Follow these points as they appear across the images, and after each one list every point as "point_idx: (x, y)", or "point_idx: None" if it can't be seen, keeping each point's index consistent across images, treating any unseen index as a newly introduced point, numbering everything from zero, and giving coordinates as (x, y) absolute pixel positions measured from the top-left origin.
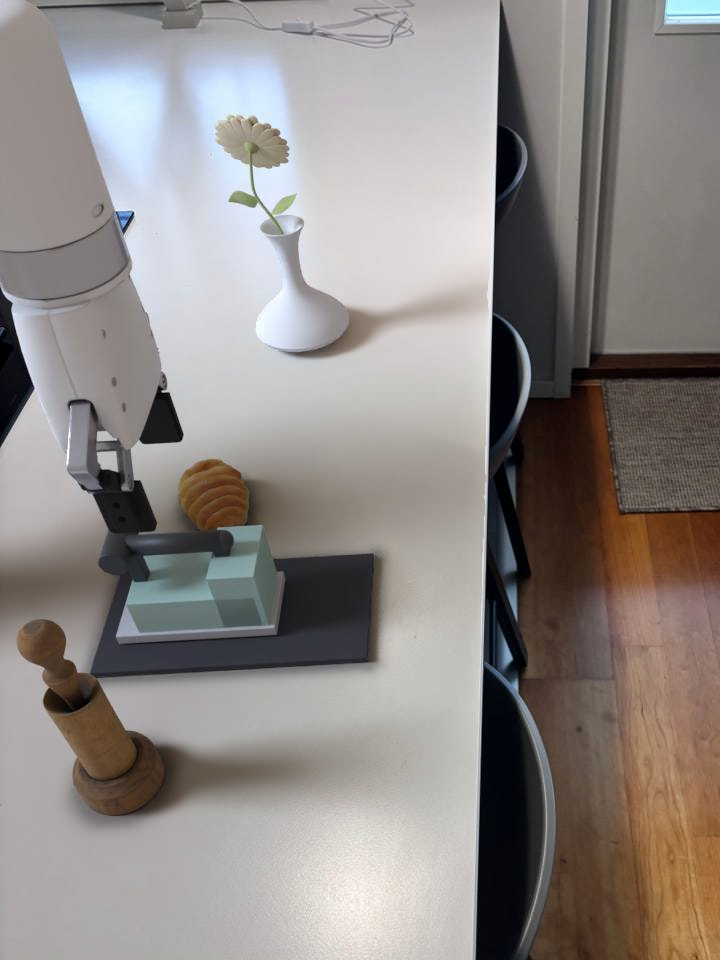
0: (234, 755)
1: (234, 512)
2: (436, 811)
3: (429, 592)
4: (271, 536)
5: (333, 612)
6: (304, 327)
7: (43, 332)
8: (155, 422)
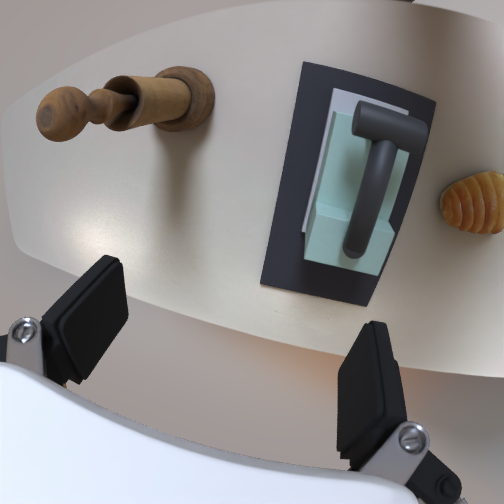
0: (192, 180)
1: (454, 221)
2: (144, 288)
3: (314, 327)
4: (428, 236)
5: (314, 271)
6: None
7: None
8: (352, 389)
